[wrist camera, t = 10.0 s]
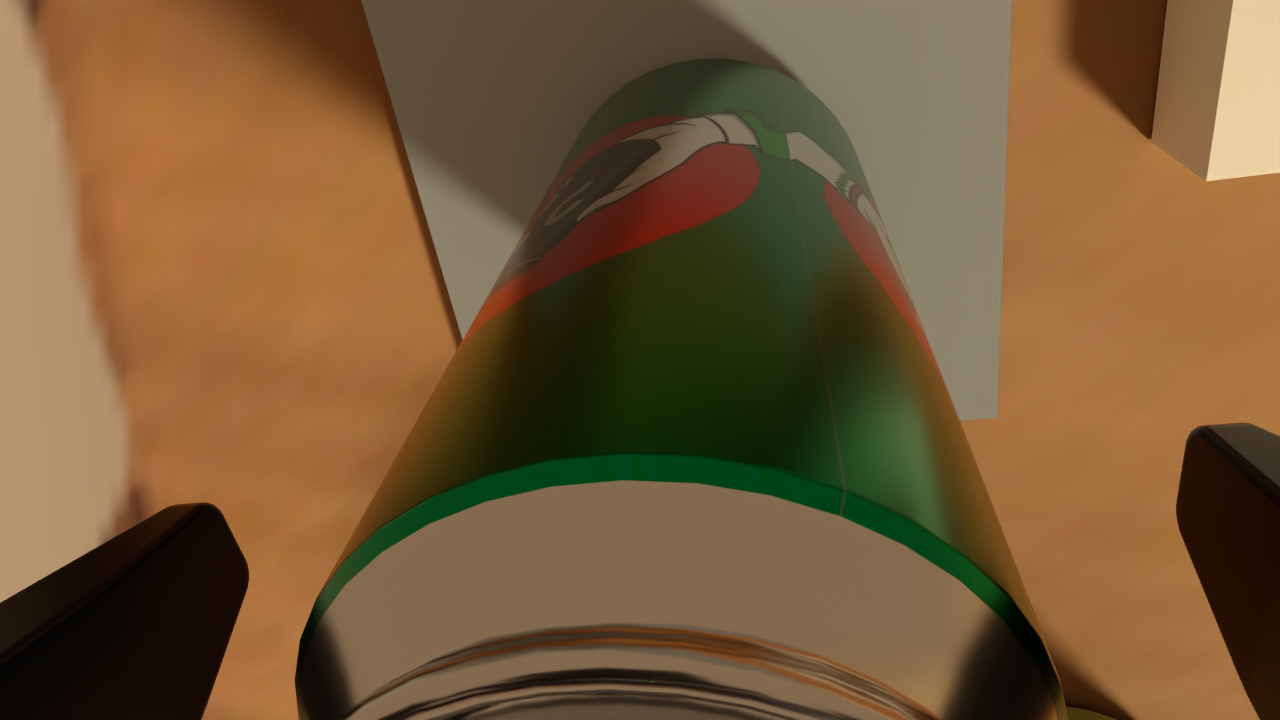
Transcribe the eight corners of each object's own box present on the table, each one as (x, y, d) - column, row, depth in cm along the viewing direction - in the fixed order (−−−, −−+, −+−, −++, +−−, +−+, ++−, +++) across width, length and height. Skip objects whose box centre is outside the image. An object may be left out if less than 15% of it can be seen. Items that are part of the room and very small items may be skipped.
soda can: (530, 271, 16) (166, 1005, 6) (625, -1, 14) (283, 447, 3) (780, 368, 17) (848, 1200, 6) (917, 123, 14) (1385, 840, 4)
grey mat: (990, 403, 17) (996, 418, 17) (503, 444, 19) (498, 458, 19) (1009, -189, 12) (1019, -190, 12) (354, -64, 14) (342, -62, 14)
